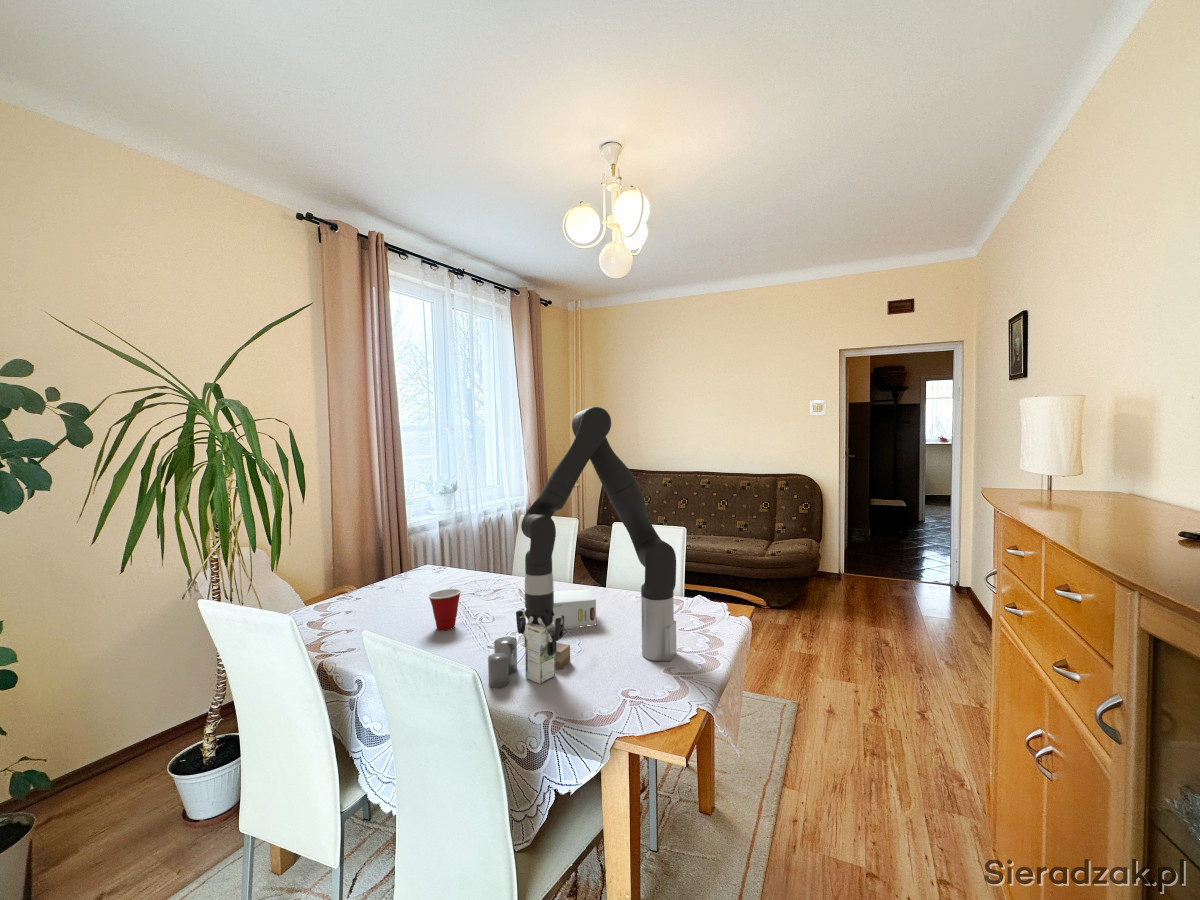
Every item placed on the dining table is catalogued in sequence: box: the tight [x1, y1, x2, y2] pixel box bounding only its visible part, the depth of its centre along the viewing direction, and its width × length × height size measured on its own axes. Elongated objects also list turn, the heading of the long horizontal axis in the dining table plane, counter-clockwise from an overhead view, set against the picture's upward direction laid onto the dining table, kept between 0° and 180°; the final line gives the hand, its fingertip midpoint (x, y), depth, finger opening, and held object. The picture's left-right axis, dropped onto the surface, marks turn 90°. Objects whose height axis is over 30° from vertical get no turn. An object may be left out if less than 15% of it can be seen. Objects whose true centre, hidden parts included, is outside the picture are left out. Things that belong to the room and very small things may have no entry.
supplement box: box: [552, 588, 597, 629], centre depth 172 cm, size 17×13×9 cm
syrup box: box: [524, 623, 556, 685], centre depth 132 cm, size 6×6×14 cm
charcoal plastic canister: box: [487, 653, 509, 690], centre depth 129 cm, size 5×5×7 cm
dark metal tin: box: [493, 636, 518, 676], centre depth 137 cm, size 6×6×8 cm
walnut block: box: [555, 641, 571, 671], centre depth 140 cm, size 5×5×5 cm
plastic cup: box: [427, 588, 462, 631], centre depth 169 cm, size 11×11×12 cm
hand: (540, 652), depth 132 cm, fingers closed on syrup box, 6 cm apart
